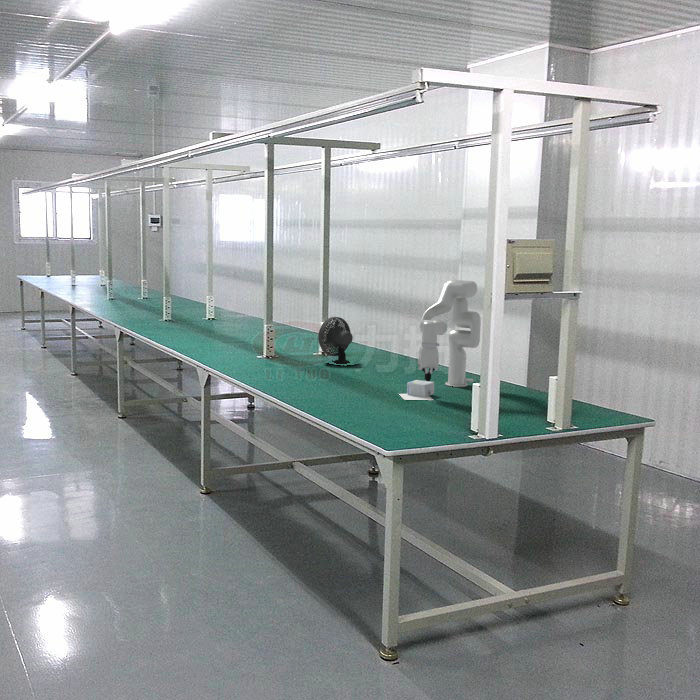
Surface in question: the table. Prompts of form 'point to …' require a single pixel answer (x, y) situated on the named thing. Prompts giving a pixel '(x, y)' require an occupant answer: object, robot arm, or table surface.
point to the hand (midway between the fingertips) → (427, 380)
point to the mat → (414, 397)
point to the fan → (335, 338)
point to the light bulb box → (420, 388)
